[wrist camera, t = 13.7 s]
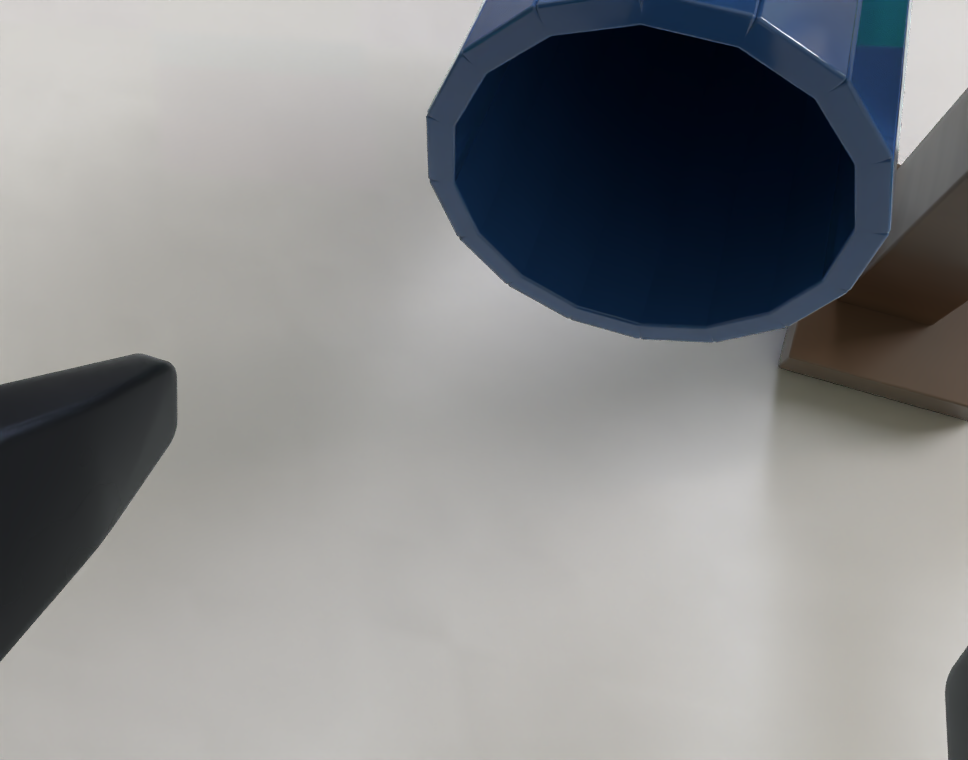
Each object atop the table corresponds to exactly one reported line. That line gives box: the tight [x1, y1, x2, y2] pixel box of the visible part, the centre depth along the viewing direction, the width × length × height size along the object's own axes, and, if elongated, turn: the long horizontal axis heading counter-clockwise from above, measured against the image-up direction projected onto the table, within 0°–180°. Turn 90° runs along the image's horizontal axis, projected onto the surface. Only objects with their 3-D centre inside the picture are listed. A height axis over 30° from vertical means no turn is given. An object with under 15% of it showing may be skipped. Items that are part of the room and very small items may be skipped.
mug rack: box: [778, 88, 968, 421], centre depth 15 cm, size 6×14×17 cm, turn 72°
